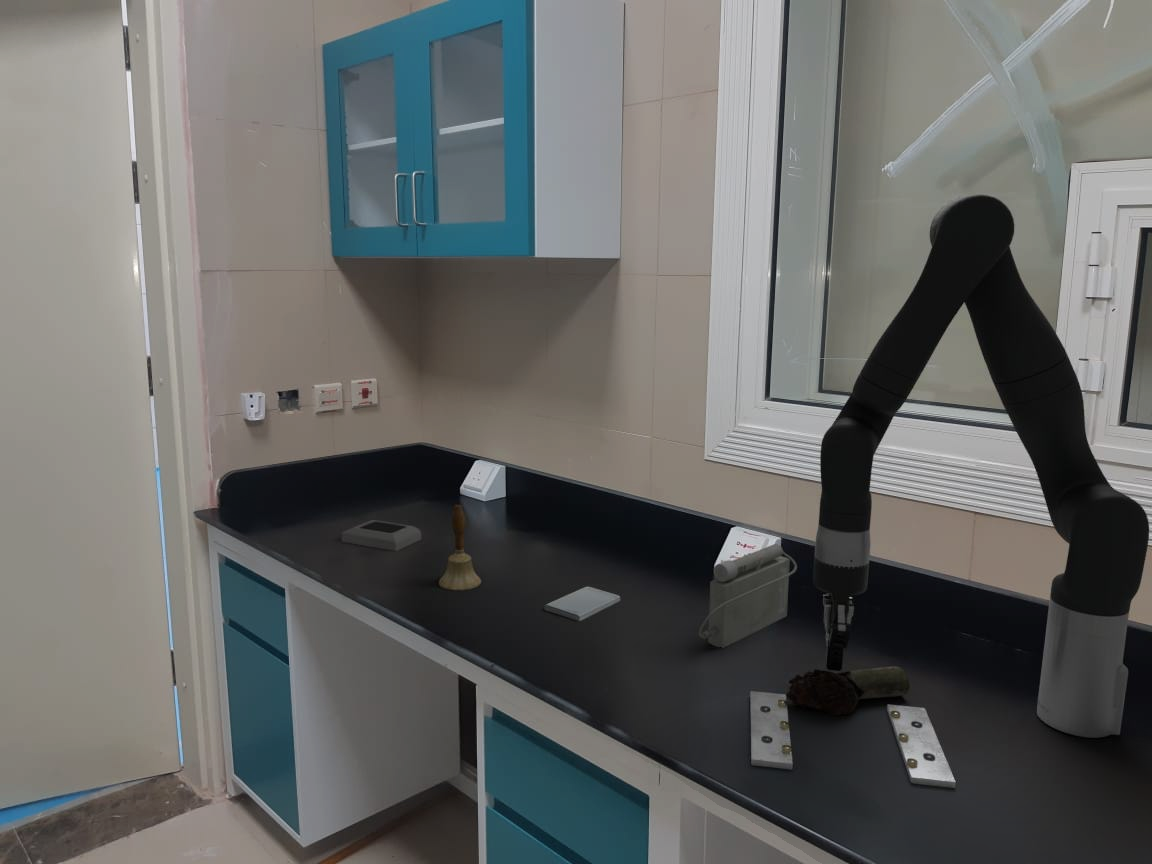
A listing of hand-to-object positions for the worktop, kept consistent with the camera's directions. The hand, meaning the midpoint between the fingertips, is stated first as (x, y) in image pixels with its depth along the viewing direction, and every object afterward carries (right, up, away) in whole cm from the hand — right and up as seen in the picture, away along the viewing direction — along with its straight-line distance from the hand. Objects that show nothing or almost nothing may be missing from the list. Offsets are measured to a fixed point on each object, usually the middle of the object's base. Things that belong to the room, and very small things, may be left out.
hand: (833, 667), depth 125 cm
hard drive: (-37, +2, +32) cm, 49 cm away
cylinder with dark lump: (+1, -5, -3) cm, 6 cm away
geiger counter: (-9, 0, +20) cm, 22 cm away
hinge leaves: (-2, -6, -12) cm, 14 cm away
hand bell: (-61, +5, +43) cm, 75 cm away
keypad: (-82, +9, +69) cm, 108 cm away
